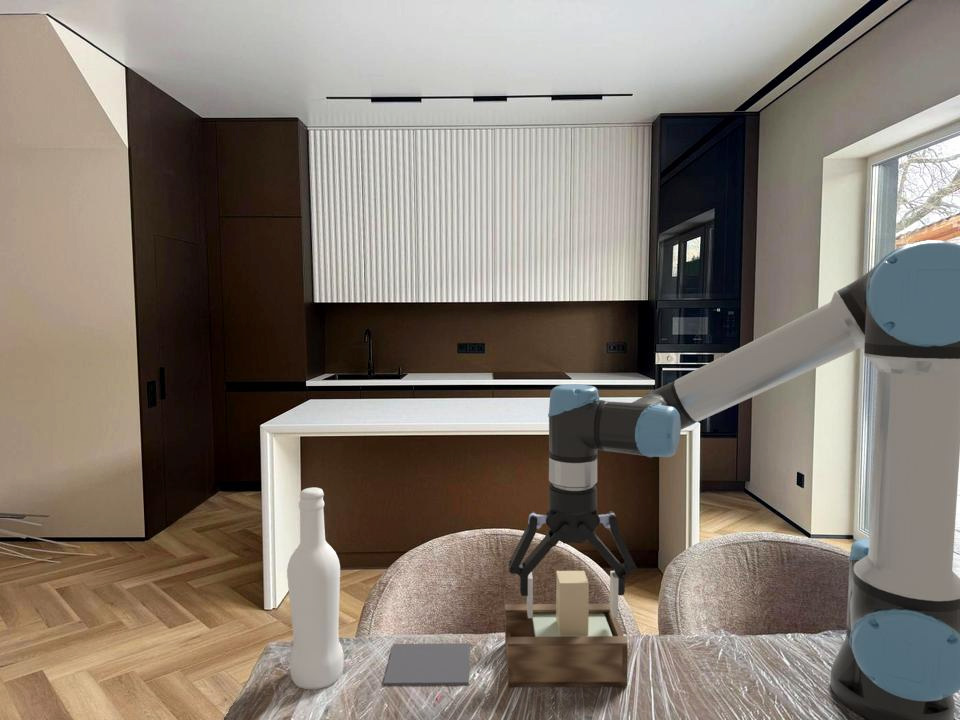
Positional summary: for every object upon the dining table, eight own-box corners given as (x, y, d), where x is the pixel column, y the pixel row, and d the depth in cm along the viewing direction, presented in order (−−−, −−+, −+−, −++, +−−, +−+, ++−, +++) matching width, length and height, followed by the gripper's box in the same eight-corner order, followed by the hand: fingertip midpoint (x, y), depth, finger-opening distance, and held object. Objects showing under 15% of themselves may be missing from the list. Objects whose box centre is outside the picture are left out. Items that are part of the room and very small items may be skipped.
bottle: (281, 675, 100) (273, 489, 97) (328, 655, 105) (322, 478, 102) (305, 699, 94) (298, 501, 91) (353, 677, 99) (348, 489, 96)
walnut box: (610, 642, 108) (611, 603, 108) (627, 686, 96) (627, 643, 95) (505, 643, 108) (505, 604, 108) (508, 687, 96) (507, 643, 95)
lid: (603, 618, 107) (604, 563, 106) (615, 650, 97) (616, 591, 96) (532, 618, 107) (532, 564, 106) (537, 651, 97) (537, 591, 96)
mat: (470, 645, 108) (470, 643, 108) (468, 684, 97) (468, 682, 97) (393, 646, 108) (393, 643, 108) (383, 685, 97) (383, 682, 97)
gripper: (645, 476, 103) (643, 602, 105) (493, 477, 103) (493, 602, 105) (658, 490, 96) (655, 625, 98) (494, 491, 96) (494, 626, 98)
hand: (571, 614), depth 102 cm, fingers open, 13 cm apart
